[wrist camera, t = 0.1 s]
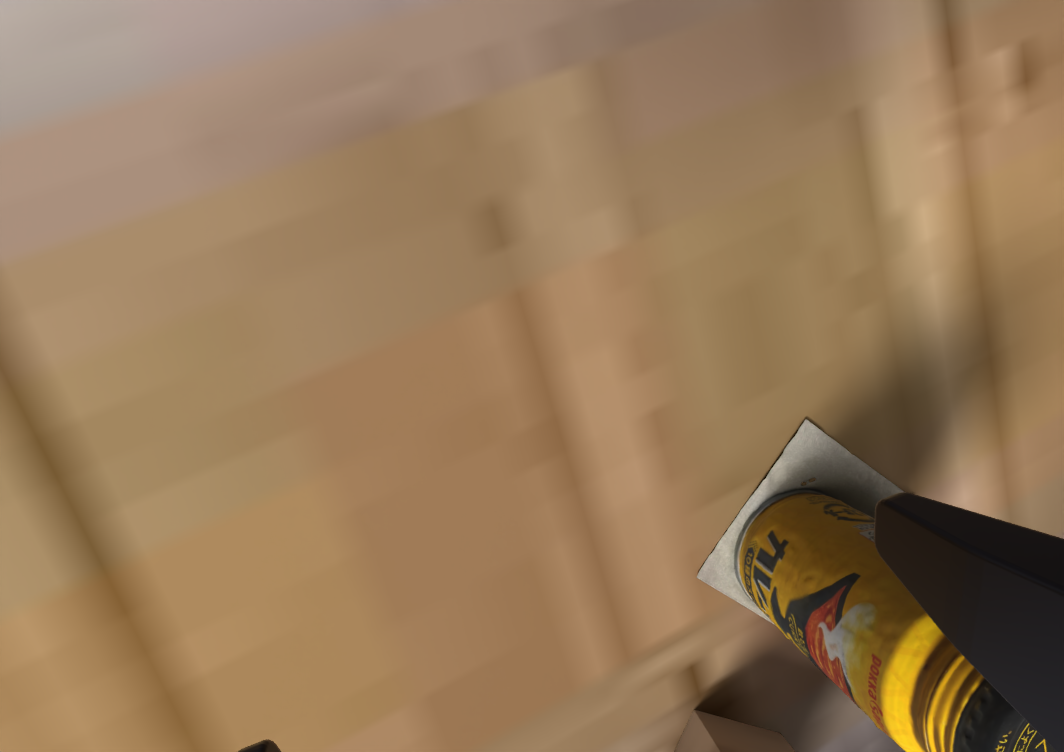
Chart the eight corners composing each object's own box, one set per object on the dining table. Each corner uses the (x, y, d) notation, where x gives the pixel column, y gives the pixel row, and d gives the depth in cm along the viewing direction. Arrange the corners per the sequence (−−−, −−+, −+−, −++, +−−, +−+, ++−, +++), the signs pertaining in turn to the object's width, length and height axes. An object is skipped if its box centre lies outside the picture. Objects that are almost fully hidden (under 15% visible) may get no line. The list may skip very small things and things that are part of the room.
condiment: (694, 575, 26) (909, 811, 15) (803, 418, 26) (1111, 532, 14) (808, 644, 28) (1080, 904, 17) (911, 498, 28) (1263, 657, 16)
